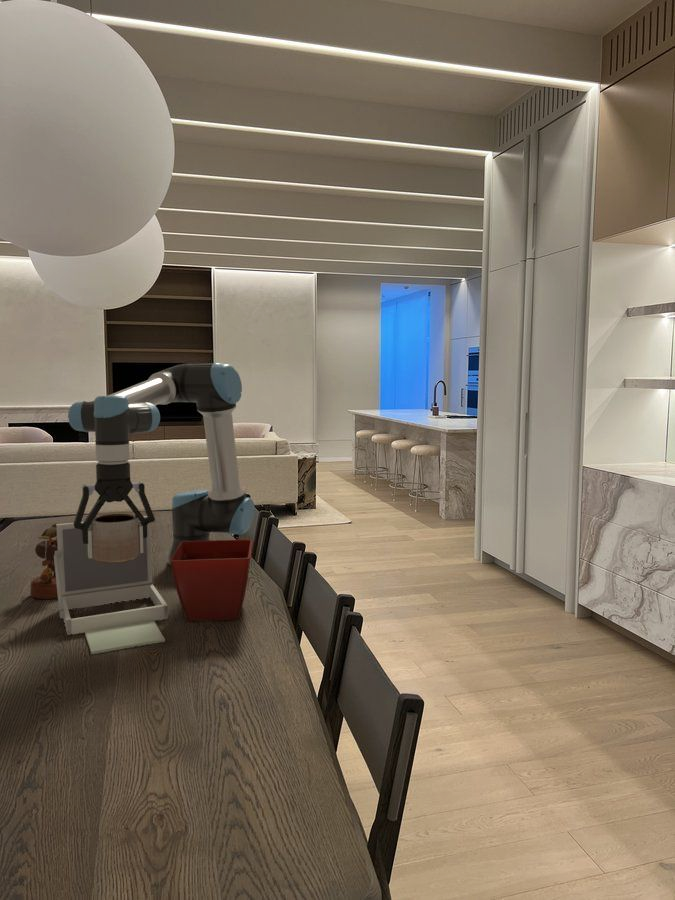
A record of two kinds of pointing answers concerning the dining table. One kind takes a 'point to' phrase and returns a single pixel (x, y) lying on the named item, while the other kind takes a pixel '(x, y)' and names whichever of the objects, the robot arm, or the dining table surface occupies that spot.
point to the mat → (123, 637)
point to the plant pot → (211, 578)
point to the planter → (115, 538)
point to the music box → (47, 581)
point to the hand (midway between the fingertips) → (115, 554)
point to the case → (103, 583)
